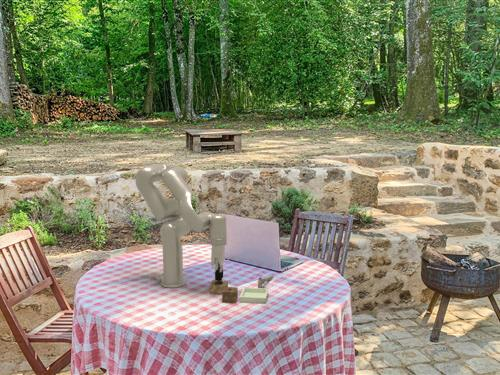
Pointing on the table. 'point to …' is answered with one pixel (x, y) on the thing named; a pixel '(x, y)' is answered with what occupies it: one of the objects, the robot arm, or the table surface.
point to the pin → (219, 280)
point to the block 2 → (229, 294)
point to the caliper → (263, 280)
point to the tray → (254, 295)
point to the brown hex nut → (217, 287)
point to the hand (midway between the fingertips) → (219, 278)
